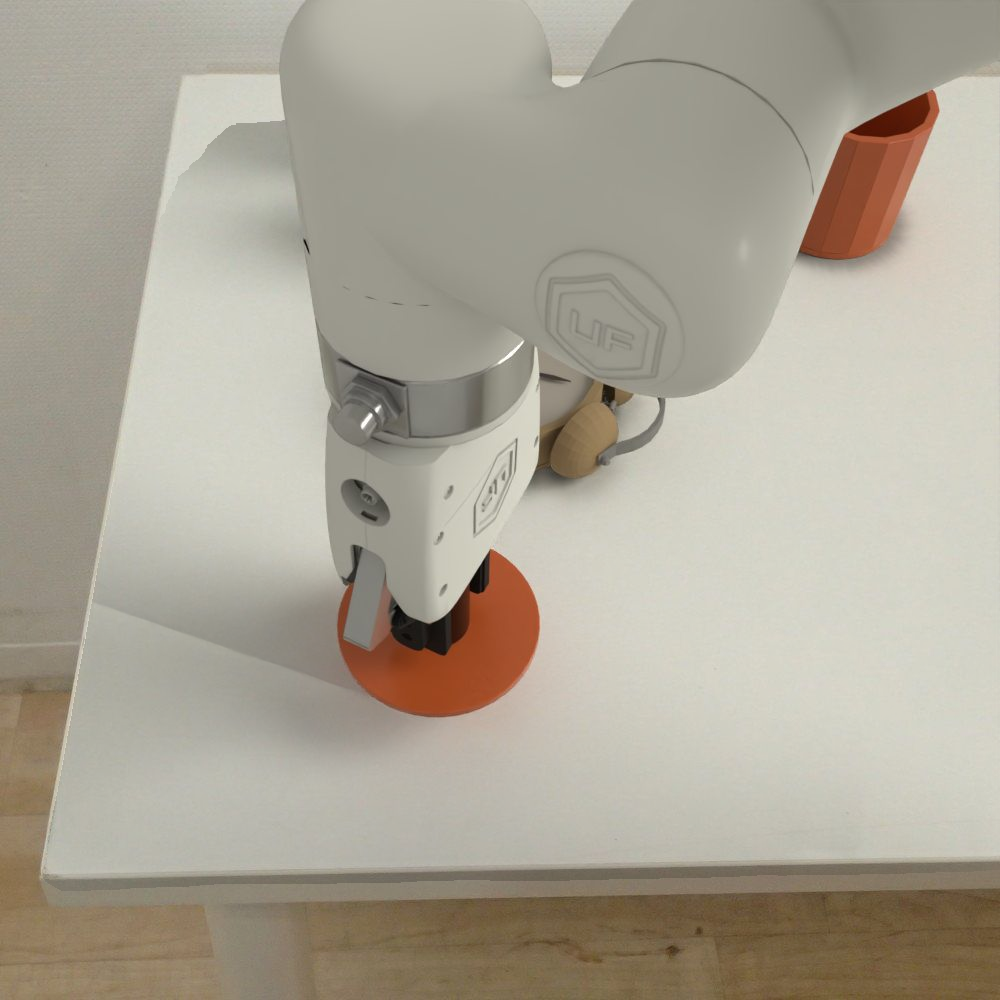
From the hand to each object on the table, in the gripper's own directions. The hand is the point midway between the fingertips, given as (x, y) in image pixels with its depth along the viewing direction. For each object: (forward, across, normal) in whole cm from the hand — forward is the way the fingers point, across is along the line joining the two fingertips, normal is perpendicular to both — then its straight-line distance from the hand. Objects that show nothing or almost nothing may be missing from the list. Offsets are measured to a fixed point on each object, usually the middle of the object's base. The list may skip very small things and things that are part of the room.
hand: (438, 606), depth 56 cm
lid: (+2, 0, 0) cm, 2 cm away
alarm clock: (+6, +18, +3) cm, 19 cm away
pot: (+6, +43, -7) cm, 44 cm away
